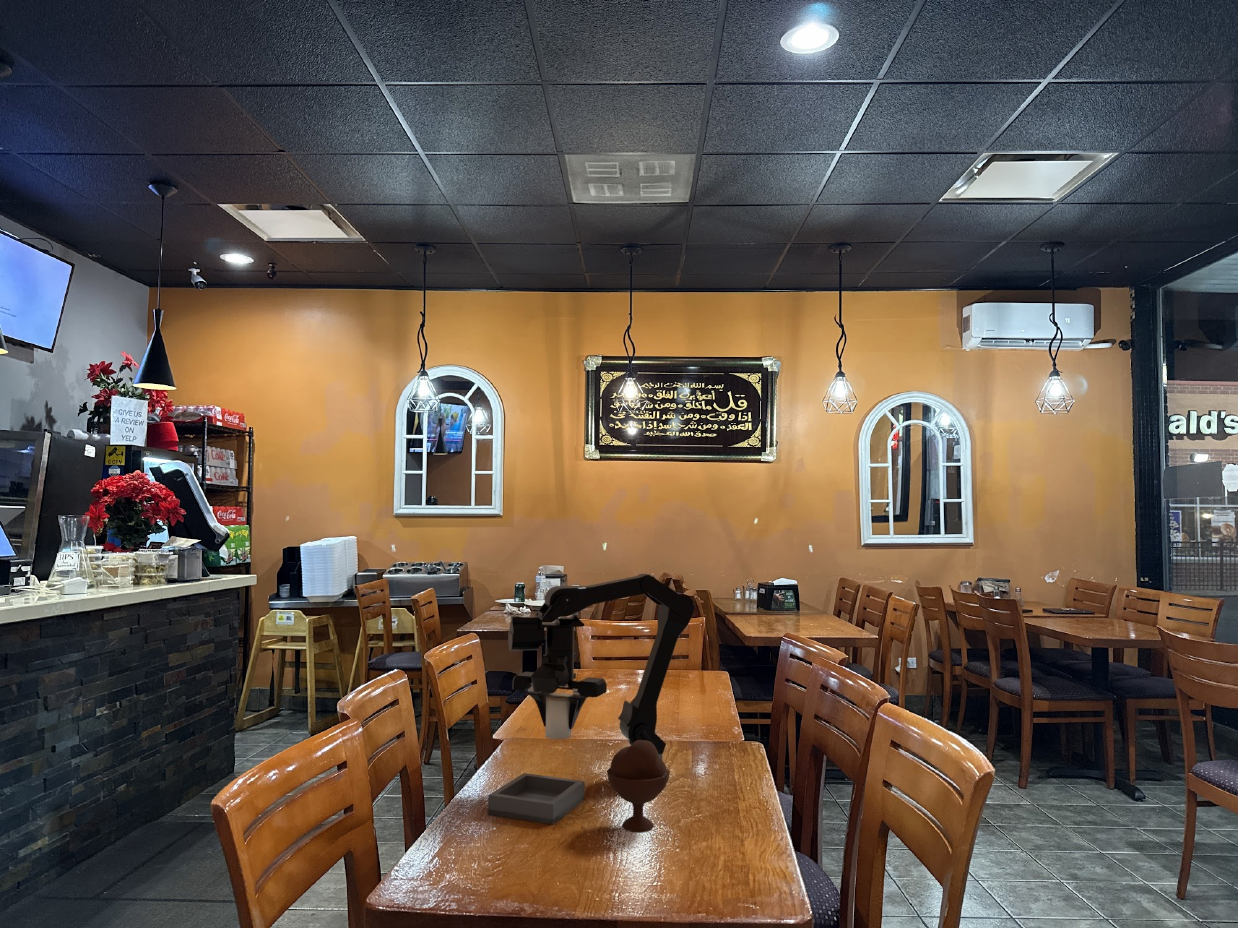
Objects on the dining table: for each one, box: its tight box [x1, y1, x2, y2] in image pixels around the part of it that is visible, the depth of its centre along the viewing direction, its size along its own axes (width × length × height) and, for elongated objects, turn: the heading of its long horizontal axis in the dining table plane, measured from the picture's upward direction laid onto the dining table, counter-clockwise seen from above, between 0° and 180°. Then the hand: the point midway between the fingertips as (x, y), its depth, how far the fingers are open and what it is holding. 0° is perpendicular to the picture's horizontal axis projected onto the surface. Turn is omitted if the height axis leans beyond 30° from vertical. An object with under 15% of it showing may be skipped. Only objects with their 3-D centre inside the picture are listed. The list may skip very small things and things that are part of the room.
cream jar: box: [544, 692, 572, 740], centre depth 164 cm, size 5×5×8 cm
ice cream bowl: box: [606, 740, 671, 833], centre depth 142 cm, size 11×11×15 cm
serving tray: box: [487, 772, 586, 826], centre depth 151 cm, size 13×14×4 cm
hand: (558, 727), depth 163 cm, fingers closed on cream jar, 5 cm apart
